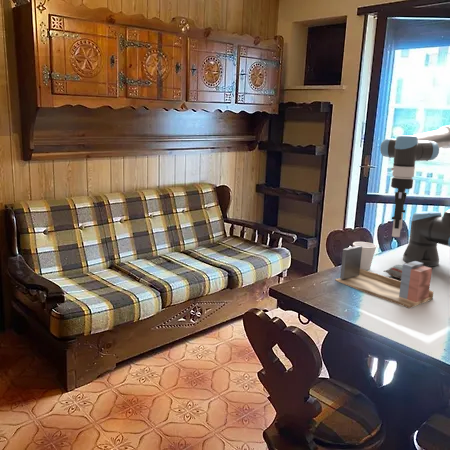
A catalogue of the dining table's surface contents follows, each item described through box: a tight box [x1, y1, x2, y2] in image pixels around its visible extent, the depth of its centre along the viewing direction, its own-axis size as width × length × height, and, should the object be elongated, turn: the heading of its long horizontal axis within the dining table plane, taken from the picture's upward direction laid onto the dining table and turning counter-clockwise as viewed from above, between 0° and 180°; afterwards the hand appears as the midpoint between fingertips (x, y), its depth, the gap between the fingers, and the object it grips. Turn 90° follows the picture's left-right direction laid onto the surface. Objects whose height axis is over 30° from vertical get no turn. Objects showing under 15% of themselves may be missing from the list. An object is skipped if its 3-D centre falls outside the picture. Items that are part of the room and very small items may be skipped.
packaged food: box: [383, 264, 403, 280], centre depth 191 cm, size 9×12×5 cm
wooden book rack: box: [335, 261, 434, 309], centre depth 176 cm, size 15×32×13 cm, turn 38°
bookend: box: [339, 246, 362, 280], centre depth 186 cm, size 10×2×12 cm, turn 128°
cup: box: [352, 241, 377, 271], centre depth 201 cm, size 10×10×11 cm
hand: (396, 232), depth 181 cm, fingers open, 13 cm apart
